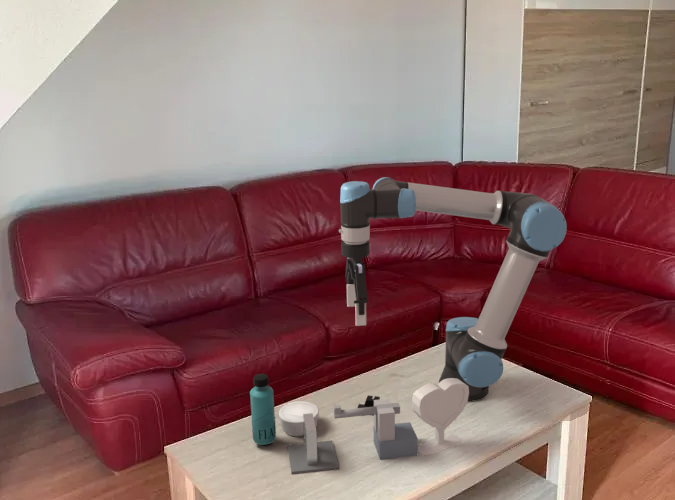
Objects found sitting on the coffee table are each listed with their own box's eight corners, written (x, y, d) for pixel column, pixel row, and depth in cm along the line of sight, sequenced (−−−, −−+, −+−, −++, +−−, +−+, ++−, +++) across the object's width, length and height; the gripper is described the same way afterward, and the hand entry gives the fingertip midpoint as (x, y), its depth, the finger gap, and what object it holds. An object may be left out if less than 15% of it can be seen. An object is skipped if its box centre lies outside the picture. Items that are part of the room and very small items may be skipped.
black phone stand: (395, 408, 198) (396, 394, 197) (391, 421, 191) (391, 407, 190) (355, 403, 201) (354, 390, 200) (349, 416, 194) (348, 402, 193)
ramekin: (283, 441, 182) (282, 424, 180) (276, 420, 192) (275, 404, 191) (323, 435, 185) (323, 418, 183) (314, 414, 195) (313, 398, 193)
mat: (332, 442, 181) (332, 440, 181) (338, 468, 170) (338, 466, 169) (287, 446, 179) (287, 444, 179) (291, 474, 168) (291, 471, 168)
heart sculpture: (420, 457, 173) (421, 395, 168) (409, 447, 178) (410, 386, 172) (468, 441, 180) (471, 381, 175) (457, 432, 184) (459, 373, 179)
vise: (409, 438, 182) (410, 391, 178) (417, 455, 174) (418, 406, 170) (333, 446, 179) (332, 399, 175) (337, 464, 171) (336, 415, 167)
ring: (313, 446, 178) (312, 413, 175) (317, 464, 171) (316, 429, 168) (304, 447, 178) (303, 414, 175) (307, 465, 170) (306, 430, 167)
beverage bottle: (256, 452, 177) (252, 384, 171) (249, 439, 183) (245, 373, 177) (280, 446, 180) (276, 379, 174) (272, 433, 185) (268, 368, 179)
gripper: (334, 229, 188) (335, 299, 194) (349, 255, 165) (350, 334, 171) (360, 227, 189) (361, 297, 195) (379, 253, 166) (379, 332, 172)
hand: (356, 315), depth 183 cm, fingers open, 13 cm apart
